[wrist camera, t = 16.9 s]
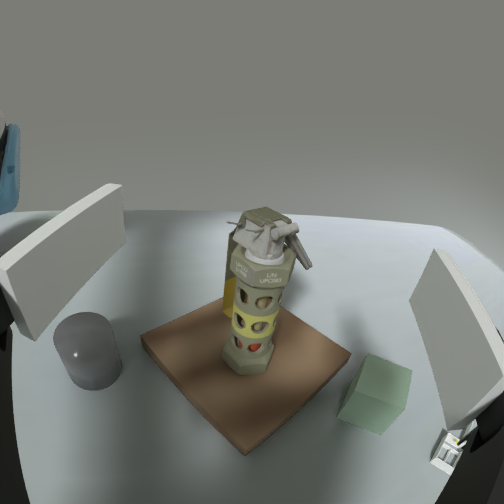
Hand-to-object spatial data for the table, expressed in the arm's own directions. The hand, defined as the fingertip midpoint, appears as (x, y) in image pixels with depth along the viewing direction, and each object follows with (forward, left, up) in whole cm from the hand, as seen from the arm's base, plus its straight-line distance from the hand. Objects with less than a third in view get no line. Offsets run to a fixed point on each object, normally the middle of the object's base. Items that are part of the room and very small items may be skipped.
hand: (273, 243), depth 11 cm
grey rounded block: (-15, -6, -19) cm, 25 cm away
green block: (+6, +12, -19) cm, 24 cm away
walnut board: (-7, +8, -19) cm, 22 cm away
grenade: (-7, +8, -18) cm, 21 cm away
